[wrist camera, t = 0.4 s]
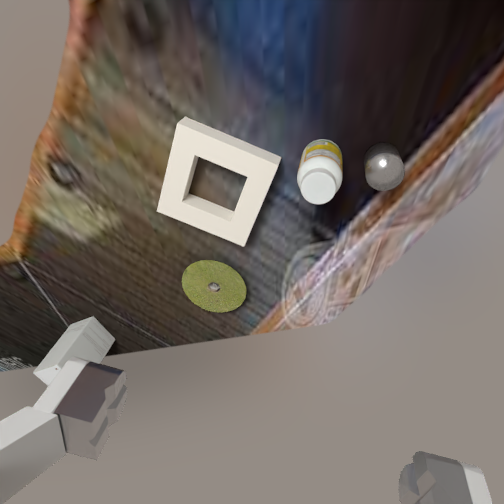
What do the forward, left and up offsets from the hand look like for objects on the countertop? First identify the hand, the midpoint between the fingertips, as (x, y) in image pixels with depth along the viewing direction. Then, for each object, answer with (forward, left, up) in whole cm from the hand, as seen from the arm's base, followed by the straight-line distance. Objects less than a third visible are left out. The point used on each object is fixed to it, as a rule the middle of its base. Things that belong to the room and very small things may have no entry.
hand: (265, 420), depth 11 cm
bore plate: (+17, -8, -44) cm, 48 cm away
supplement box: (+61, -23, -44) cm, 79 cm away
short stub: (+5, +11, -44) cm, 46 cm away
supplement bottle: (+8, +4, -44) cm, 45 cm away
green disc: (+35, -3, -44) cm, 57 cm away
